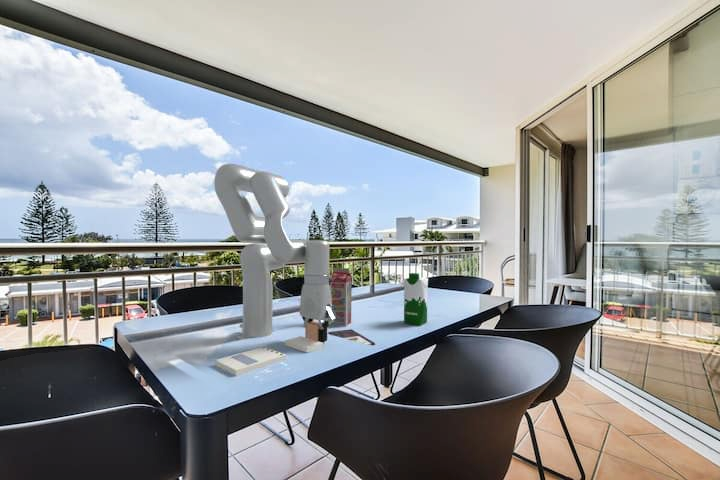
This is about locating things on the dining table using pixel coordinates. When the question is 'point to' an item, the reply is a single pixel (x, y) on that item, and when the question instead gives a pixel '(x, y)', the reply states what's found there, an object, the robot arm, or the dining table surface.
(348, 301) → the juice carton
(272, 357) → the cream flat block
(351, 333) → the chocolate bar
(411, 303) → the milk carton
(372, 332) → the dining table surface
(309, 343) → the stub
